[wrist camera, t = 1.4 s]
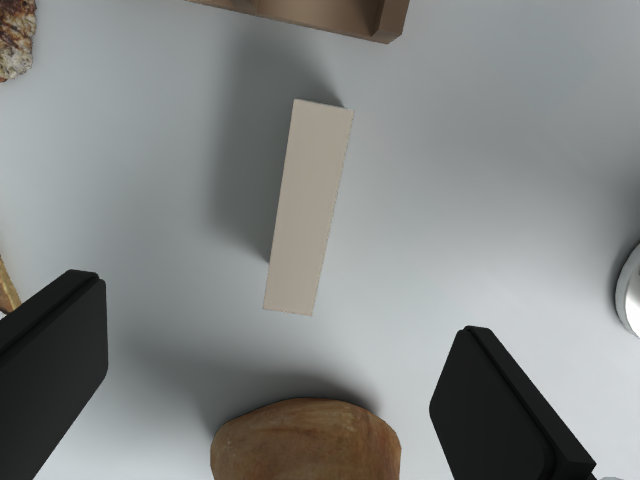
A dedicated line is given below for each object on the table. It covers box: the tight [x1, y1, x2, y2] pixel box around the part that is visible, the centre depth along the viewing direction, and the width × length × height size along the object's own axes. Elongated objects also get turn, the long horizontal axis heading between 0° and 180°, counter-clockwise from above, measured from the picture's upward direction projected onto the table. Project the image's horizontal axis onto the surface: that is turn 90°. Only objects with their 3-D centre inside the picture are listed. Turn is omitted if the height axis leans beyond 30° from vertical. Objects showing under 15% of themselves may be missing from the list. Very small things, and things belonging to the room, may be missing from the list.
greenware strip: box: [263, 98, 354, 316], centre depth 23 cm, size 3×12×6 cm, turn 169°
